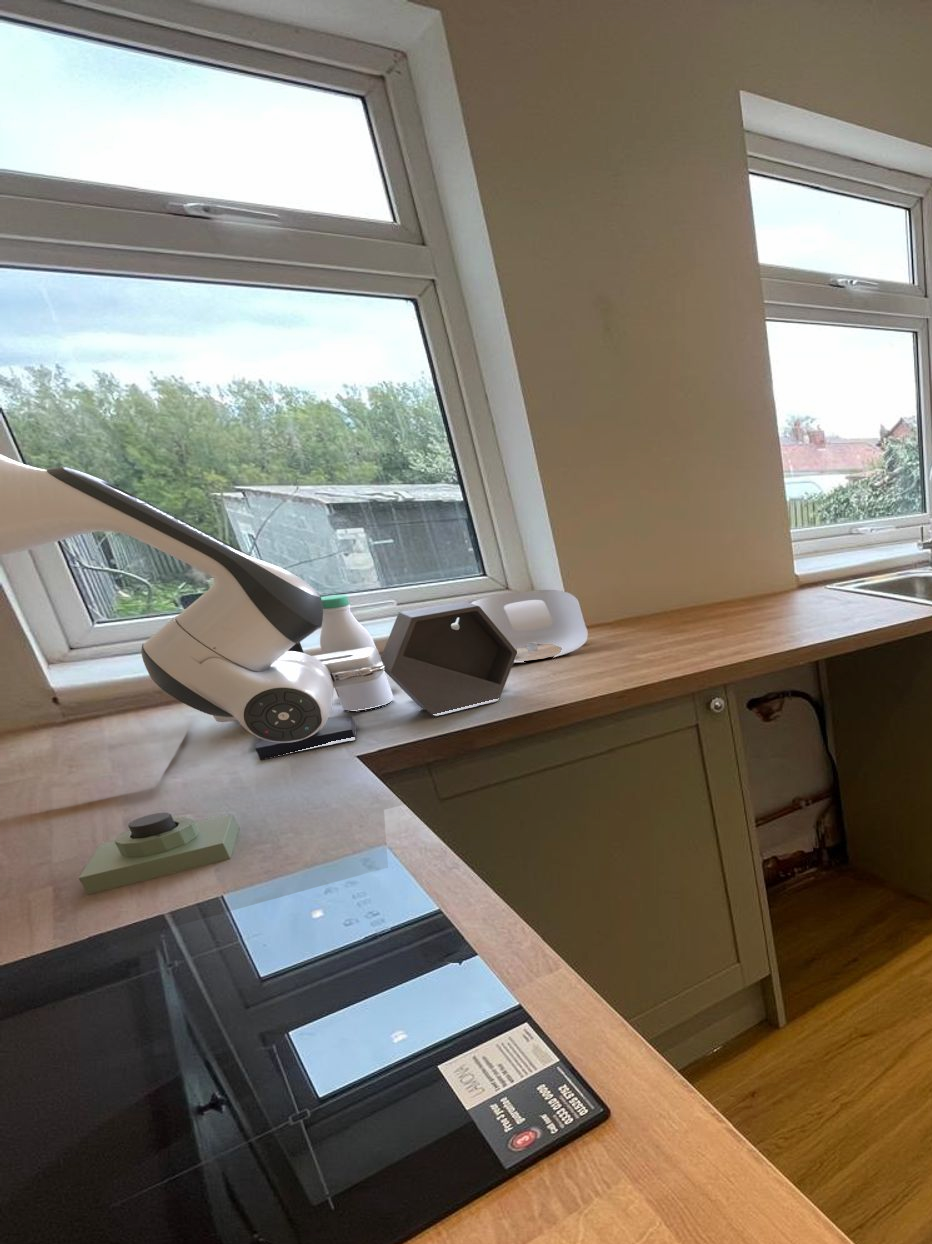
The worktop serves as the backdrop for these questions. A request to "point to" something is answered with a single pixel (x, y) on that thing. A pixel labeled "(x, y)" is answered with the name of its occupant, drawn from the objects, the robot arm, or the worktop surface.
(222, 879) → the worktop surface
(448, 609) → the planter
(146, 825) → the button
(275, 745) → the base
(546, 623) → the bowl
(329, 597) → the milk bottle
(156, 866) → the control block
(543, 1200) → the worktop surface
